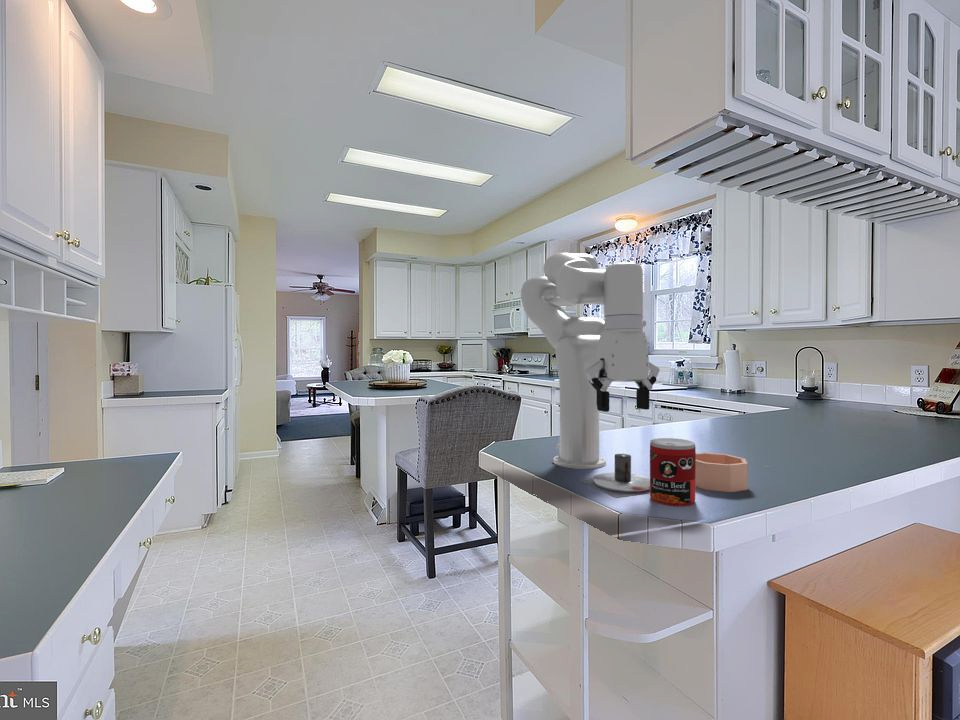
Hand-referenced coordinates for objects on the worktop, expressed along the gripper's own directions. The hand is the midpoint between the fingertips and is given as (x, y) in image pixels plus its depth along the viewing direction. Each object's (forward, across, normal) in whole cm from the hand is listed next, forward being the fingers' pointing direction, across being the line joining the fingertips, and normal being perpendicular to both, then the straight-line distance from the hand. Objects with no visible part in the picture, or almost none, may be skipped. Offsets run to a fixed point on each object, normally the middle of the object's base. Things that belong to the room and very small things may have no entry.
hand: (623, 409), depth 94 cm
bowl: (+16, -18, +6) cm, 25 cm away
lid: (+15, 0, 0) cm, 15 cm away
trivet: (+16, 0, 0) cm, 16 cm away
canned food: (+16, -2, +11) cm, 19 cm away
